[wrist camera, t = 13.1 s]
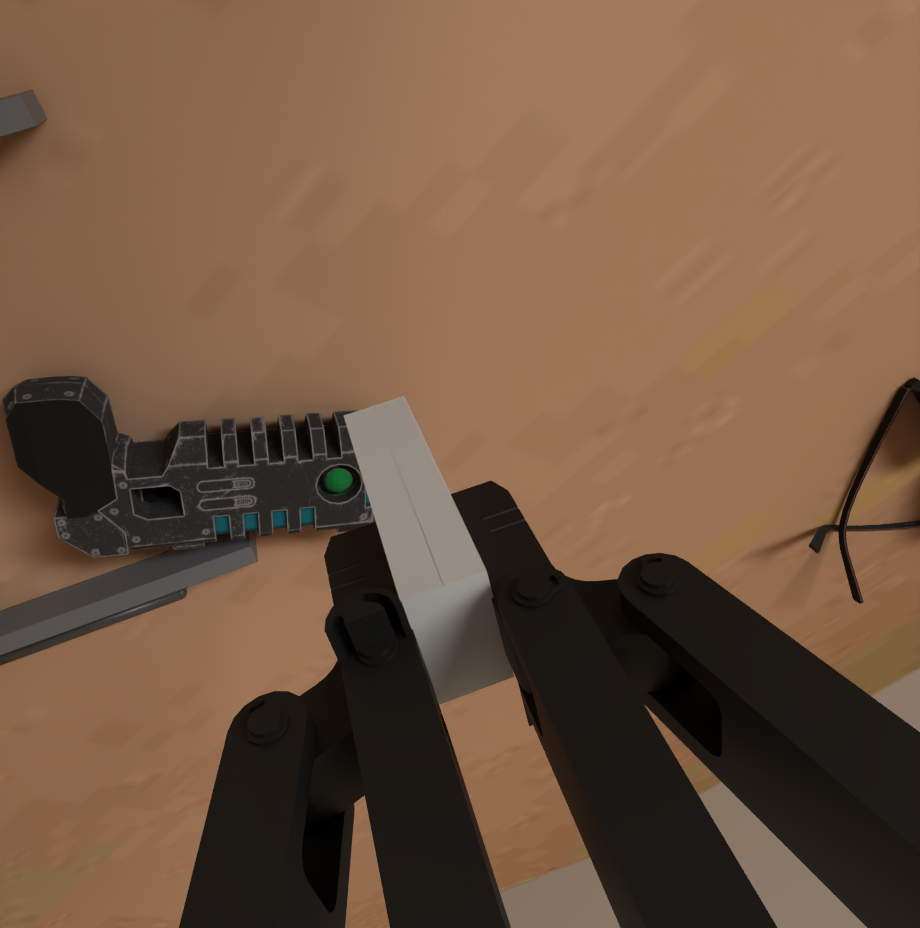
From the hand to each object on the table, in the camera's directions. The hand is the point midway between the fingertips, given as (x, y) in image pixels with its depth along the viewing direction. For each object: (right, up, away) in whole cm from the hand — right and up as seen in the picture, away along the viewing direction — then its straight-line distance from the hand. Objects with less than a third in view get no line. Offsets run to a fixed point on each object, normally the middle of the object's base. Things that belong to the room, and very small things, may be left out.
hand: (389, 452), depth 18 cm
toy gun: (-11, +4, +20) cm, 23 cm away
